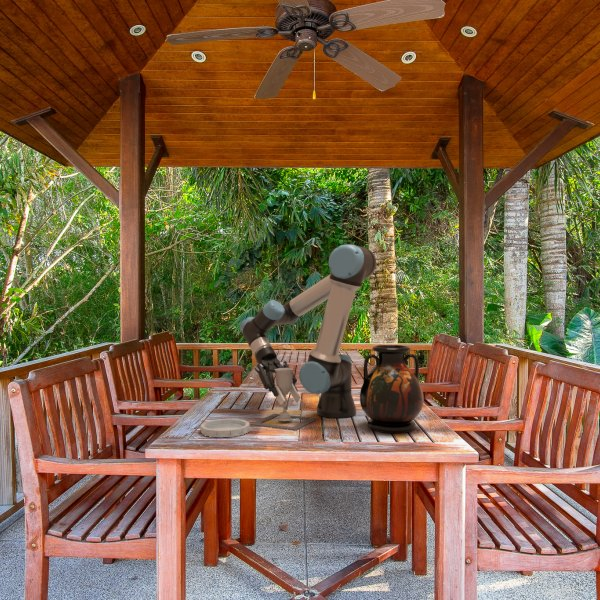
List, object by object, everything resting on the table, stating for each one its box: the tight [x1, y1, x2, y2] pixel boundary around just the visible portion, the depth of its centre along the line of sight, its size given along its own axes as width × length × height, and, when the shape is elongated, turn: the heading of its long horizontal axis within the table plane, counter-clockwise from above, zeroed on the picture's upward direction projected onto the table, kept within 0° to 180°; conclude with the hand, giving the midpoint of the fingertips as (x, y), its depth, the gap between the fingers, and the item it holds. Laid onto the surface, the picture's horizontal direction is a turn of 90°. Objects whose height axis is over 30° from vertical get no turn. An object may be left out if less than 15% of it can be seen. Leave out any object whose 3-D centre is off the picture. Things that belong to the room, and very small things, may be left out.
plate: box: [199, 418, 250, 438], centre depth 172 cm, size 16×16×2 cm
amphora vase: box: [359, 344, 425, 434], centre depth 176 cm, size 22×22×28 cm
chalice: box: [275, 367, 294, 422], centre depth 185 cm, size 7×7×18 cm
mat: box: [250, 413, 318, 431], centre depth 185 cm, size 18×18×1 cm
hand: (290, 401), depth 182 cm, fingers closed on chalice, 6 cm apart
